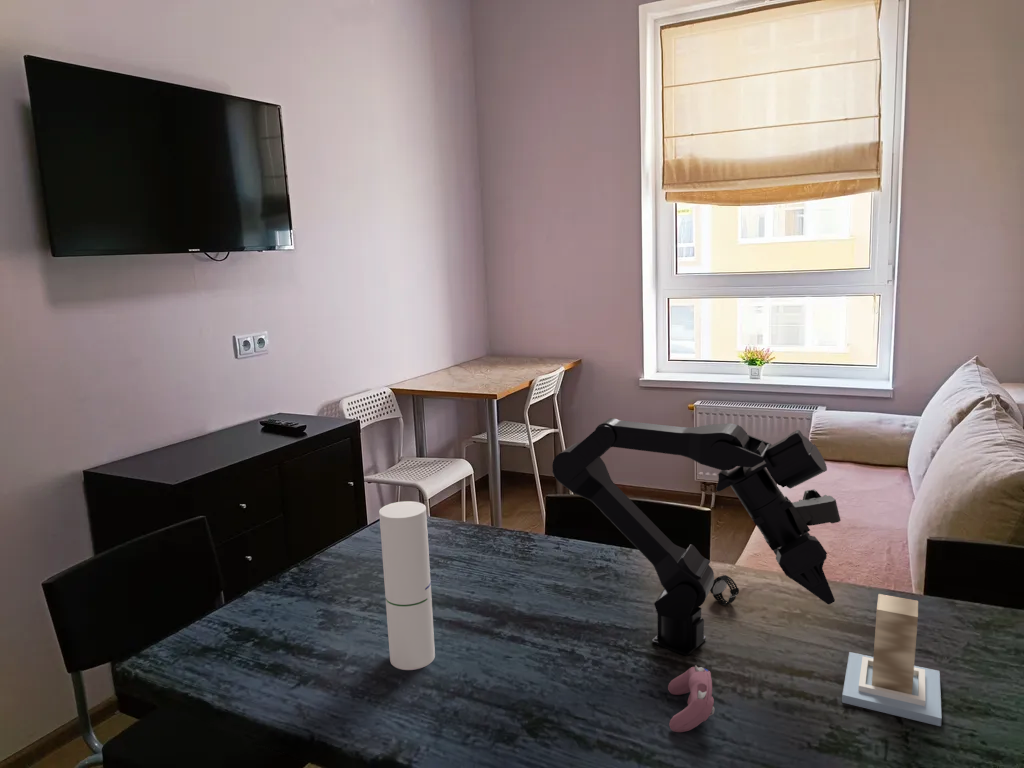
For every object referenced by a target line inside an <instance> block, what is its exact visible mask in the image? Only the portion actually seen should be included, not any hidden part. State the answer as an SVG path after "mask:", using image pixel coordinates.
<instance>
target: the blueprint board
mask: <svg viewBox="0 0 1024 768" xmlns="http://www.w3.org/2000/svg"><path fill="white" fill-rule="evenodd" d="M873 658H874V656H871V655H866V654H861V653H857V652H851V651H849V652H848V658H847V665H846V670H845V677H844V683H843V687H842V688H843V689H842V694H841V695H842V696H841V697H842V700H841V703H843V704H847V705H851V706H856V707H858V708H864V709H868V710H872V711H875V712H881V713H884V714H887V715H892V716H896V717H900V718H906V719H909V720H913V721H917V722H922V723H924V724H929V725H933V726H937V727H942V698H941V697H942V695H941V675H940V673H941V672H940V670H937V669H932V668H927V667H922V666H918V665H914V674H913V686H912V695H911V694H907V693H902V692H898V691H893V690H889V689H885V688H880V687H876V686H872V673H873Z"/></svg>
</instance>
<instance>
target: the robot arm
mask: <svg viewBox="0 0 1024 768" xmlns="http://www.w3.org/2000/svg"><path fill="white" fill-rule="evenodd" d="M611 448H618V449H628V450H635V451H644V452H650V453H658V454H664V455H665V454H667V455H674V456H682V457H685V458H688V459H690V460H692V461H694V462H696V463H698V464H700V465H703V466H706V467H709V468H713V469H716V470H720V471H719V473H718V480H717V485H716V487H715V490H716V491H717V492H721V491H724V490H725V489H727V488H729V487H731V489H732V490H733V492H734V493H735V495H736V497H737V498H738V499H739V501H740V503H741V504H742V506H743V507H744V509H745V510H746V512H747V513H748V516H750V518H751V520H752V522H753V523H754V525H755V526H756V527H757V528H758V530H759V531H760V533H761V534H762V537H763V539H764V541H765V542H766V543H767V545H768V547H769V548H770V550H771V551H772V552H773V554H774V555H776V556H775V561H776V562H777V564H778V566H779V567H780V568H781V570H782V572H783V573H784V575H785V576H786V577H788V578H789V579H791V580H792V581H794V582H795V583H796V584H799V585H800V586H802V587H803V588H804V589H805V590H807V591H809V592H810V593H811V594H813V595H814V596H815V597H817V598H819V600H821V601H822V602H824V603H825V604H827V605H831V604H833V603H835V601H836V598H835V596H834V594H833V592H832V589H831V587H830V584H829V581H828V579H827V577H826V574H825V571H824V569H823V567H824V564H825V561H826V560H827V556H828V553H827V550H826V549H825V548H824V546H823V545H822V543H821V542H820V540H818V538H817V537H816V536H814V535H811V534H810V533H809V532H810V531H811V529H810V527H809V526H811V527H812V526H817V525H822V524H829V523H830V524H836V523H840V522H841V516H840V512H839V508H838V504H837V501H836V500H837V499H835V497H833V496H831V495H827V494H824V495H821V494H820V493H819V492H818V490H817V489H815V488H813V489H808V490H805V491H804V492H803V496H802V499H798V501H793V502H792V501H791V500H790V499H789V497H787V496H785V495H784V494H783V492H782V491H781V489H780V488H779V487H780V486H781V488H785V487H786V488H788V489H793V488H794V487H797V486H799V485H801V484H803V483H805V482H807V481H809V480H811V479H813V478H815V477H817V476H818V475H821V474H823V473H824V472H827V471H828V467H827V464H826V460H825V459H824V457H823V455H822V453H821V452H820V450H819V449H818V447H817V446H816V444H813V442H812V441H811V440H810V439H809V438H807V437H806V436H805V435H803V433H802V431H801V430H799V429H796V430H795V431H793V432H791V433H790V434H789V435H788V436H786V437H785V438H782V439H781V440H779V441H777V442H775V443H774V444H772V443H770V442H767V441H766V440H763V439H760V438H758V437H756V436H754V435H753V436H752V435H750V434H748V432H747V431H746V430H745V429H744V428H743V427H742V426H741V425H739V424H736V423H729V422H727V423H717V424H714V423H713V424H712V423H711V424H705V425H699V426H694V427H693V426H692V427H683V426H677V425H676V426H674V425H665V424H656V423H648V422H639V421H629V420H628V421H627V420H622V419H621V420H620V419H618V418H608V419H606V420H604V421H603V422H601V423H600V424H598V425H597V427H595V430H593V432H591V433H590V434H589V435H588V436H587V437H585V438H584V439H583V440H582V441H581V442H575V443H573V444H572V445H570V446H568V447H567V448H566V449H564V450H563V451H561V452H559V453H558V454H557V455H556V456H555V457H554V459H553V460H552V461H553V462H552V465H551V466H552V475H553V477H554V478H555V480H556V481H557V482H558V483H560V484H561V485H562V486H563V487H564V488H566V489H567V490H568V491H570V492H571V493H572V494H575V495H577V496H579V497H582V498H584V499H587V500H588V501H590V502H591V503H593V504H594V505H595V506H596V508H598V509H599V510H600V512H601V513H602V514H603V515H604V516H605V517H606V519H608V520H609V521H610V522H611V523H612V524H613V525H614V526H615V527H616V528H617V529H618V530H619V532H621V534H622V535H623V536H624V537H625V538H626V539H627V540H629V542H630V543H631V544H632V545H633V546H634V547H635V548H636V549H637V550H638V551H639V552H640V553H641V554H642V555H643V556H644V557H645V558H646V560H648V562H650V563H651V565H652V566H653V568H654V569H655V572H656V575H657V577H658V580H659V582H660V585H661V586H662V587H663V590H661V592H660V594H659V596H658V597H657V598H656V600H655V601H654V608H655V610H656V614H657V617H656V619H657V632H656V633H657V635H656V636H654V637H653V638H652V641H651V642H652V644H654V645H656V646H660V647H662V648H664V649H668V650H670V651H672V652H675V653H677V654H681V655H683V656H690V654H691V653H692V652H694V651H695V650H696V649H697V648H698V647H699V646H701V644H703V643H704V642H705V641H706V637H707V636H706V635H705V634H704V633H705V632H704V631H705V627H704V626H705V620H704V618H703V617H702V607H701V606H702V605H703V604H704V603H705V601H706V599H707V598H708V595H709V593H711V591H710V590H711V588H712V586H713V583H714V580H715V572H714V571H713V568H712V567H711V566H710V563H711V560H710V559H707V557H706V558H705V557H704V556H703V555H702V554H701V552H700V551H699V550H698V549H697V548H696V547H695V545H694V544H689V546H688V547H687V548H684V547H682V546H679V545H677V544H675V543H673V542H672V540H671V539H670V538H668V536H667V535H665V534H664V532H663V531H661V529H659V527H658V526H657V525H656V524H655V523H654V522H653V521H652V520H651V519H650V518H649V517H648V516H647V515H646V514H645V513H644V512H643V510H641V509H640V508H639V507H638V506H637V505H636V504H635V503H634V502H633V501H632V499H630V498H629V496H627V495H626V493H624V492H623V491H622V490H621V489H620V487H618V485H617V484H615V482H614V481H613V480H612V478H611V476H610V473H609V471H608V468H607V465H606V463H605V462H604V461H603V459H602V458H601V457H602V456H603V455H604V454H606V452H608V450H610V449H611Z"/></svg>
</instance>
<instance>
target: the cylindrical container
mask: <svg viewBox="0 0 1024 768" xmlns="http://www.w3.org/2000/svg"><path fill="white" fill-rule="evenodd" d="M378 513H379V516H378V517H379V527H380V541H381V543H380V544H381V556H382V567H383V579H384V580H383V581H384V595H385V610H386V622H387V636H388V637H387V639H388V646H389V647H388V648H389V661H390V664H391V665H392V666H393V667H394V668H396V669H398V670H403V671H413V670H419V669H422V668H425V667H427V666H429V665H430V664H431V663H432V662H433V661H434V660H435V657H436V653H435V652H436V651H435V650H436V649H435V634H434V616H433V615H434V614H433V600H432V598H433V597H432V584H431V571H430V570H431V568H430V566H431V565H430V555H429V554H430V550H429V535H428V518H427V517H428V516H427V506H426V505H425V504H424V503H422V502H419V501H413V500H412V501H411V500H410V501H404V500H403V501H397V502H392V503H388V504H386V505H384V506H382V507H381V508H380V509H379V512H378Z"/></svg>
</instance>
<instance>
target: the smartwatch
mask: <svg viewBox="0 0 1024 768" xmlns="http://www.w3.org/2000/svg"><path fill="white" fill-rule="evenodd" d="M727 586H728V587H729V593H730V594H729V598H728V600H726V599H725V598H724V596H723V592H724V591H725V590H726V589H727ZM739 592H740V589H739V587H738V586H737V584H736V582H735V581H734V580H733V579H732V578H731V577H730V576H729V575H726V574H724V575H721V576H717V577H715V578H714V583H713V586H712V588H711V590H710V593H711V594H712V597H713V598H714V600H715V601H716V602H718V604H720V605H722V606H726V605H730V604H732V603H733V602H734V601H735V600H736V597H737V596H738V595H739ZM726 602H727V603H726Z"/></svg>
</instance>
